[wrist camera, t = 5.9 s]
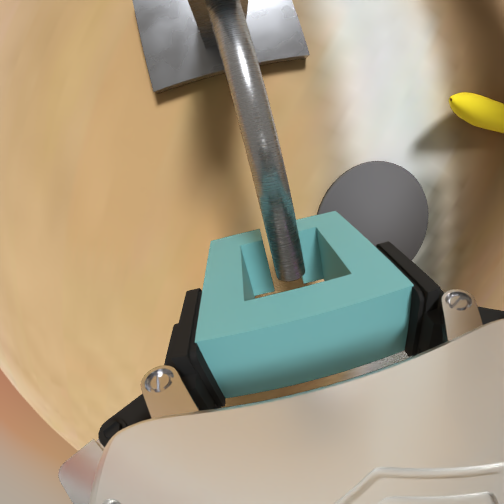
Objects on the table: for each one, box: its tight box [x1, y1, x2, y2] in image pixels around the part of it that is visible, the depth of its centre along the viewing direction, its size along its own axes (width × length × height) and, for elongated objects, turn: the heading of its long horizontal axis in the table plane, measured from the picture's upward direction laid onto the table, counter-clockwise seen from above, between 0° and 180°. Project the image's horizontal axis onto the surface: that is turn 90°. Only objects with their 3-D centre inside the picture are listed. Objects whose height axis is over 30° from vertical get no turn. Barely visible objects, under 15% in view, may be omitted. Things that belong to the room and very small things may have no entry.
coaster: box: [317, 161, 428, 260], centre depth 20 cm, size 10×10×1 cm
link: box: [195, 211, 414, 398], centre depth 12 cm, size 7×3×8 cm, turn 104°
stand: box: [133, 0, 309, 281], centre depth 11 cm, size 10×18×11 cm, turn 14°
